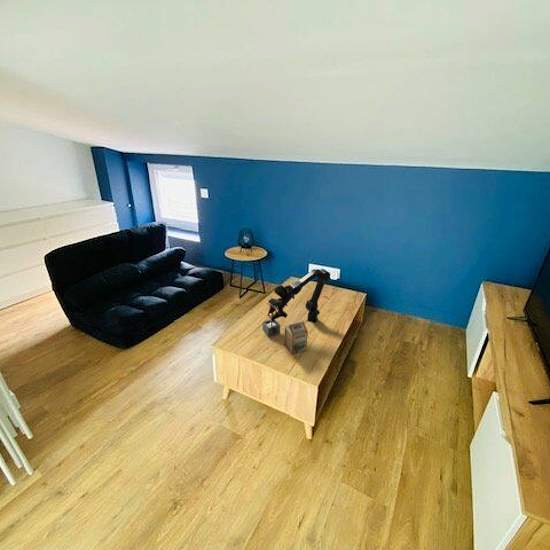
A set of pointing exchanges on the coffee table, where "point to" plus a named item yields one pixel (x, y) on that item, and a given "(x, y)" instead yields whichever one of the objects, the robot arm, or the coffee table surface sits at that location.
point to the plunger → (271, 321)
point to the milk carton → (296, 337)
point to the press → (271, 328)
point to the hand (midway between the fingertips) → (269, 318)
